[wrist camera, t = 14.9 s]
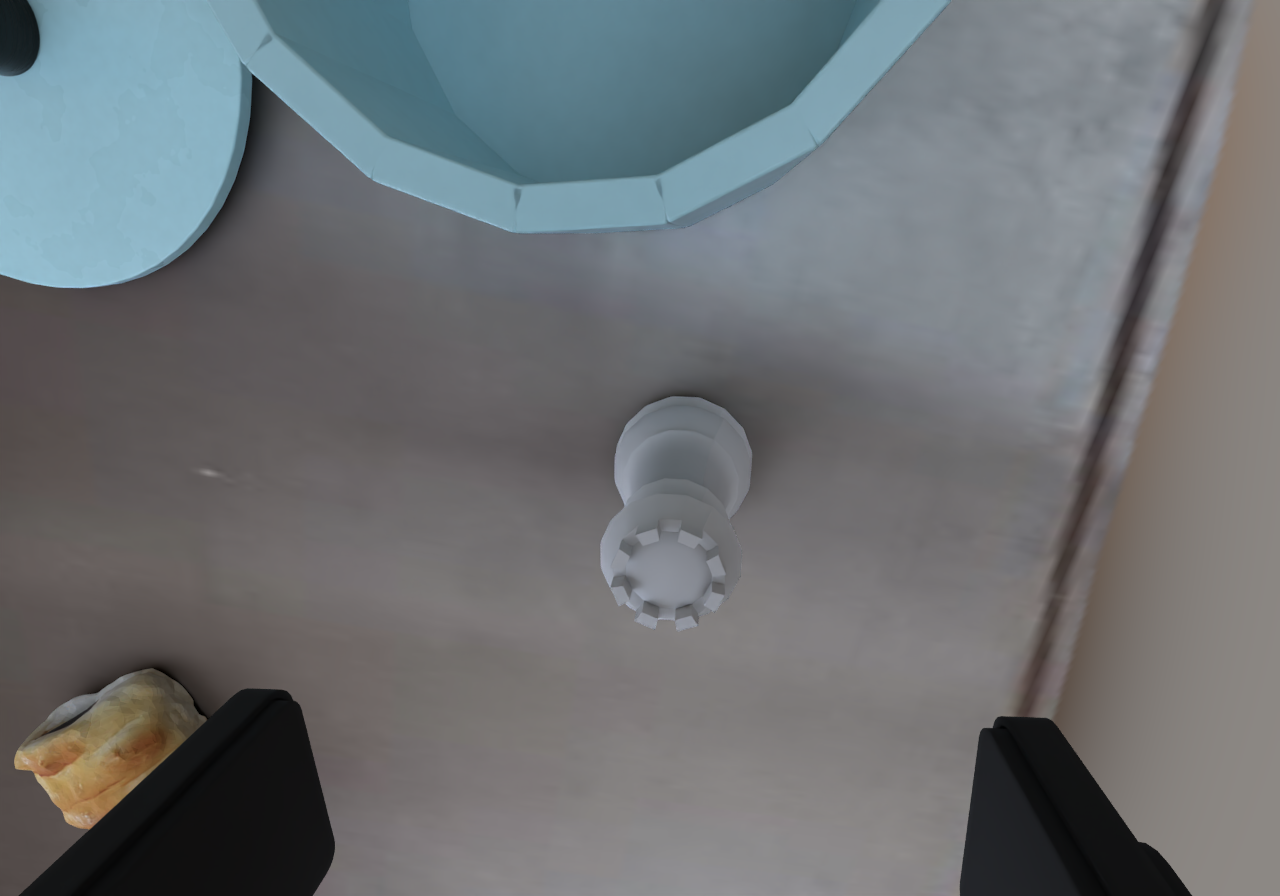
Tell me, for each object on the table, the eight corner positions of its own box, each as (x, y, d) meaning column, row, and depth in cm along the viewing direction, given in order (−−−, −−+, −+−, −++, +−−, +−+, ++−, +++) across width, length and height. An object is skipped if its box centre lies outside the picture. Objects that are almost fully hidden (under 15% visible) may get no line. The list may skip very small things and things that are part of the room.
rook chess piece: (667, 364, 20) (640, 442, 13) (780, 443, 21) (817, 564, 13) (592, 470, 22) (527, 596, 14) (698, 542, 22) (690, 702, 15)
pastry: (298, 811, 29) (237, 895, 25) (194, 851, 30) (123, 935, 27) (159, 649, 26) (72, 715, 23) (56, 702, 28) (-40, 771, 25)
